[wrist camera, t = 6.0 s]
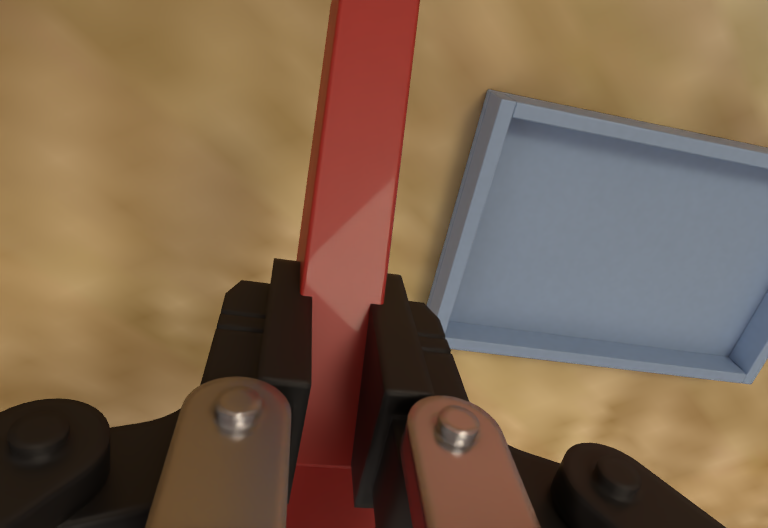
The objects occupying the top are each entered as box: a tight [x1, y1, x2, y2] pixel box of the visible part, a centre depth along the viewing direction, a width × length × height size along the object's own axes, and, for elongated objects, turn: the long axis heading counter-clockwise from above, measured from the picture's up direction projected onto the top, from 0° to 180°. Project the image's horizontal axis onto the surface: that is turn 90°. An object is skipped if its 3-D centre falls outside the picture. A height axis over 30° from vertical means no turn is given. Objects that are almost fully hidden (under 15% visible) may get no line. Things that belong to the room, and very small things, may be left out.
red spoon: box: [286, 0, 420, 528], centre depth 10 cm, size 13×5×3 cm
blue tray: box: [427, 89, 768, 384], centre depth 25 cm, size 17×11×2 cm, turn 78°
